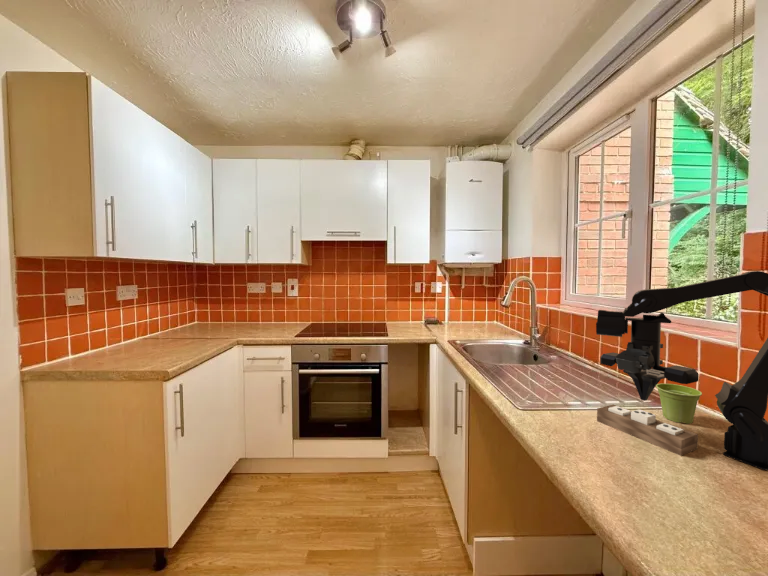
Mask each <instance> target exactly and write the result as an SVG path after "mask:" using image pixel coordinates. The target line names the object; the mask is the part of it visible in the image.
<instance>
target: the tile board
mask: <svg viewBox="0 0 768 576" xmlns="http://www.w3.org/2000/svg"><path fill="white" fill-rule="evenodd" d="M614 406H618V405H615V404H609V405H605V406H603V407H598V408H597V409H596V412H597V413H596V421H597V422H599V423H602V424H604V425H606V426H609V427H611V428H612V429H613V428H614V429H616V430H618V431H620V432H623V433H625V434H628V435H631V436H632V437H636V438H638V439H640V440H642V441H645V442H647V443H650V444H652V445H654V446H656V447H659V448H661V449H664V450H667V451H669V452H671V453H674V454H676V455H679V456H681V457H682V456H683V455H686V454H689V453H691V452H693V451H696V450H698V446H699V445H698V444H699V443H698V441H699V440H698V439H699V434H698V433H696V432H692V431H690V430H687V429H684V428H682V427H679V426H675V425H673V424H669V423H667V422H664V421H662V420H659V419H656V423H654V424H650V425H646V424H643V423H640V422H638V421H635V420H632V419H631V414H629V415H626V416H622V415H619V414H616V413H613V412H611V411H608V408H610V407H614ZM618 407H621V406H618ZM621 408H624V407H621ZM624 409H626V408H624ZM663 423H666V424H669V425H672V426H675V427H678V428H681V429H683V433H682V434H679V435H677V436H675V435H673V434H670V433H667V432H665V431H662V430H659V429H656V426H657V425H660V424H663Z"/></svg>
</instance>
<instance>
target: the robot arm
mask: <svg viewBox="0 0 768 576" xmlns="http://www.w3.org/2000/svg"><path fill="white" fill-rule="evenodd" d="M749 291H754V292H757V293H760V294H761V295H764V296H766V297H768V273H767V272H765V271H761V270H756V271H755V270H751V271H746V272H744V273H740V274H736V275H732V276H725V277H722V278H717V279H712V280H706V281H703V282H702V281H701V282H697V283H693V284H692V283H691V284H686V285H683V286H682V285H681V286H675V287H665V288H664V287H663V288H661V287H660V288H651V289H648V288H647V289H642V290H638V291H636V292H635V293H634V294H633V296H632V297H631V303H630V304H629V305H628V306H627V307H624V310H623V311H613V310H606V309H599V310H598V311H597V321H596V323H595V332H596V335H599V336H610V337H618V338H620V337H621V338H623V335H625V334H627V335H628V332H629V331H628V330H629V322H631V323H630V325H631V326H630V341H627V344H626V348H625V349H624V350H622V351H621V352H620V353H619V352H614V351H612V352H605V353H602V355H601V356H600V357H599V358H600V359H599V361H600V362H599V363H600V365H604V366H607V367H613V366H614V365H616V366H617V369H618V370H621V371H622V372H623V373H625V374H627V375H628V376H629V377H630V378H631V380H632V381H633V383H634V386H635V388H636V391H637V393H638V395H639V398H640V400H642V401H644V402H646V401H647V400H649V397H650V395H651V394H652V392H653V391H654V389H655V387H656V385H657V384H659V382H660V381H661V380H663V379H664V380H665V379H666V380H667V381H670V382H673V383H677V384H681V385H689V384H693V383H697V382H699V372H698V371H697V369H695V368H692V367H685V366H682V365H676V364H675V365H672V366H663V363H664V362H663V361H664V360H663V359H661V349H664V344H663V343H661V338H662V337H661V334H662V332H661V331H662V324H671V323H672V320H671V319H670V318H668V317H667V316H666V314H664V312H659V311H661V310H662V311H663V310H665V309H669V308H671V307H674V306H676V305H679V304H681V303H682V304H683V303H686V302H692V301H698V300H703V299H709V298H715V297H720V296H725V295H732V294H736V293H737V294H738V293H742V292H749ZM656 312H659V314H658V315H657V314H656V315H655V314H654V315H653V313H656ZM640 314H643V315H642V317H636V316H639V315H640ZM714 396H715V398H716V399H717V400H716V406H717V407H718V409H719V411H720V412H721V414H722V416H723V417H724V419H725V420H727V422H729V423H730V424H732V425H729V426H728V427H727V431H724V440H723V442H724V443H723V450H725V451H723V453H722V454H723V456H725V457H728V458H731V459H734V460H736V461H739V462H742V463H744V464H747V465H750V466H751V467H756V468H758V469H760V470H764V471H768V421H767V420H766V418H765V415H766V412H767V409H768V337H767V338H766V339H765V341H764V342H763V344H762V346H761V347H760V349H759V350H758V352H757V353H756V355H755V356H754V358H753V360H752V361H751V363H750V364H749V366H748V367H747V369H746V371H745V373H744V374H743V375H742V377H741V378H740V379H739V380H738V381H737V382H735V383H733V384H730V383H729V382H727V381H724V382H723V383H722V386H721V389H720V391H719V392H718V393H716V394H714Z"/></svg>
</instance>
